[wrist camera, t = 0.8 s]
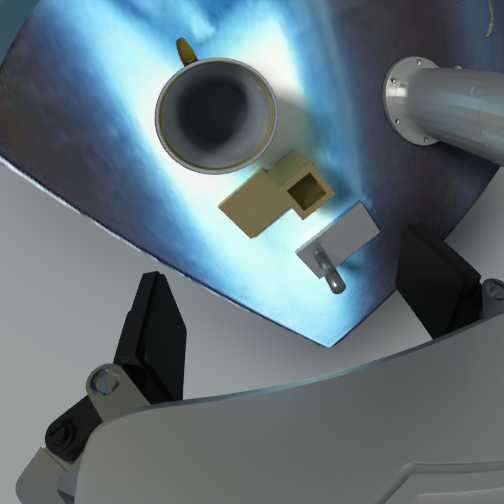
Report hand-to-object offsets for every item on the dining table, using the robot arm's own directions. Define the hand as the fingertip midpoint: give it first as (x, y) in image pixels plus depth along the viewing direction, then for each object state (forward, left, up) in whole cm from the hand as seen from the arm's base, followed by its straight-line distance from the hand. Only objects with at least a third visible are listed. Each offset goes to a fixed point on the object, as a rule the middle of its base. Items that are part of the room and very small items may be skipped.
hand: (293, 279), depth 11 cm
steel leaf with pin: (-2, +18, -25) cm, 31 cm away
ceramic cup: (-2, -7, -26) cm, 27 cm away
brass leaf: (+1, +6, -25) cm, 26 cm away
